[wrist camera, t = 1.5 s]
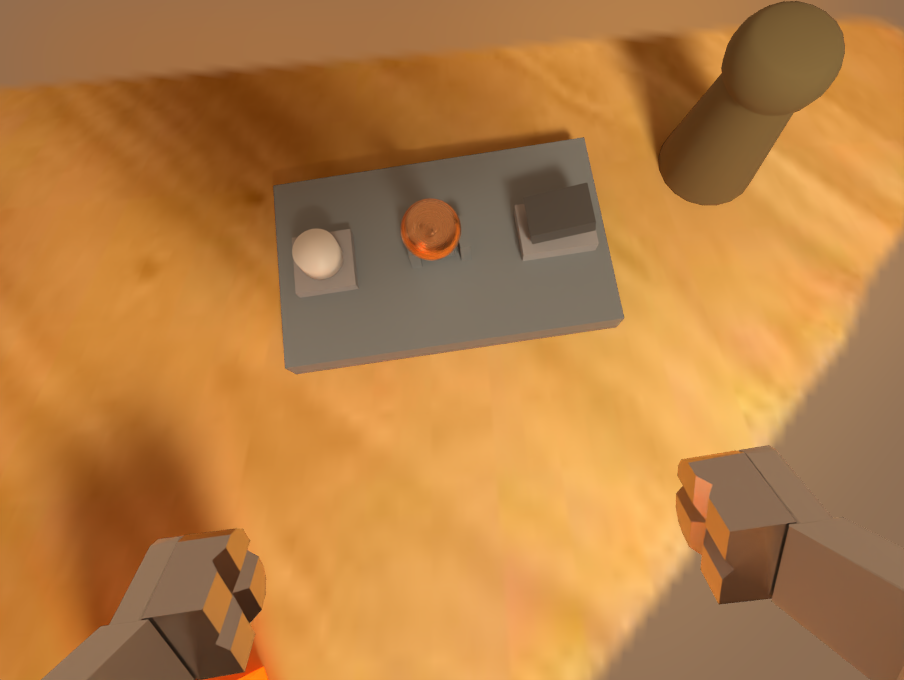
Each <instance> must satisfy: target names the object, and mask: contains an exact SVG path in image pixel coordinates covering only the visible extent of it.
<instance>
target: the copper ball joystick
mask: <svg viewBox="0 0 904 680" xmlns="http://www.w3.org/2000/svg"><path fill="white" fill-rule="evenodd" d="M401 237H402V240H403V243H404V245H405V246H406V248H407V249H408V250H409V251H410V252H411V253H412V254H413V255H415V256H416V257H418V258H420V259H423V260H430V261H433V260H439V259H442V258H444V257H446V256H450V255H456V252H455V248H456V247H457V245H458V243H459V241H460V237H461V222H460V219H459V217H458V215H457V213H456V211H455V210H454V209H453V208H452V207H451V206H450V205H449V204H447V203H446V202H444V201H442V200H439V199H432V198H429V199H423V200H420V201H418V202H416V203H414V204H413V205H411V206H410V207H409V208H408V210H407V211H406V212H405V214H404V216H403V218H402V221H401Z"/></svg>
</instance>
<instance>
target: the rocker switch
mask: <svg viewBox="0 0 904 680" xmlns="http://www.w3.org/2000/svg"><path fill="white" fill-rule="evenodd" d="M523 200H524V206H525V211H526V216H527V222H528V227H529V232H530V237H531V242H532V244H536V243H541V242H545V241H550V240H555V239H559V238H564V237H568V236H573V235H577V234H582V233H586V232H591V231H595V230H596V220H595V215H594V210H593V206H592V201H591V197H590V192H589V188H588V183H582V184H578V185H574V186H570V187H566V188H561V189H557V190H553V191H549V192H544V193H540V194H536V195H532V196H528V197H523Z"/></svg>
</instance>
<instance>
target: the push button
mask: <svg viewBox="0 0 904 680" xmlns="http://www.w3.org/2000/svg"><path fill="white" fill-rule="evenodd" d="M292 256H293V259H294V261H295V263H296V264H297V265H298V266H299V267H300V268H301V270H302V271H303V272H304V273H305V274H306V275H307V276H309V277H311V278H313V279H317V280H323V279H327V278H330V277H332V276H334V275H335V274H336V273H337V272H338V271H339V270H340V268H341V266H342V264H343V252H342V249H341V248H340V246H339V244H338V243H337V241H336V240H335V238H334V237H333V236H332V234H330V233H329V232H328V231H326V230H323V229H310V230H307V231H305V232H303V233H302V234H300V235H299V236H298V237H297V239H296V240H295V242H294V244H293V247H292Z"/></svg>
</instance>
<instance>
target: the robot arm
mask: <svg viewBox="0 0 904 680" xmlns="http://www.w3.org/2000/svg"><path fill="white" fill-rule="evenodd" d="M677 476H678V478H679V479H680V481H681V483H682V485H683V486H682V488H681V489H680V490H679V491H678V492H677V493H676V511H677V516H678V522H679V525H680V527H681V530H682V533H683V535H684V537H685V539H686V541H687V543H688V545H689V547H690V548H692V549H693V550H695V551H696V552H698V553H699V554H701V555H702V559H701V571H702V573H703V575H704V577H705V579H706V581H707V583H708V585H709V587H710V589H711V590H712V592H713V594H714V596H715V598H716V600H717V602H718V604H719V605H720V604H728V603H738V602H747V601H755V600H764V599H772V600H771V602H773V603H774V604H775V605H776V606H778V607H779V608H780V609H781V610H783V611H784V612H785V613H787V614H788V615H789V616H790V617H792V618H793V619H794V620H795V621H797V622H798V623H799V624H800V625H802V626H803V627H804V628H805V629H807V630H808V631H809V632H810V633H812V634H813V635H814V636H816V637H817V638H818V639H819V640H821V641H822V642H823V643H824V644H826V645H827V646H828V647H829V648H831V649H832V650H833V651H834V652H836V653H837V654H838V655H840V656H841V657H842V658H843V659H845V660H846V661H847V662H848V663H850V664H851V665H852V666H853V667H855V668H856V669H857V670H858V671H860V672H861V673H862V674H863V675H865V676H866V677H867V678H868V679H870V680H904V548H903V547H901V546H899V545H897V544H895V543H893V542H891V541H889V540H887V539H885V538H883V537H881V536H879V535H877V534H875V533H873V532H871V531H869V530H867V529H866V528H864V527H861V526H860V525H857V524H856V523H854V522H852V521H850V520H848V519H846V518H844V517H839V518H833V517H832V516H831V515H830V514H829V512H828V511H827V510H826V509H825V508H824V507H823V505H822V504H821V503H820V502H819V500H818V499H817V498H816V497H815V496H814V495H813V494H812V492H811V491H810V490H809V489H808V487H807V486H806V485H805V484H804V483H803V481H802V480H801V479H800V478H799V477H798V475H797V474H796V473H795V472H794V471H793V470H792V469H791V467H790V466H789V465H788V464H787V462H786V461H785V460H784V459H783V458H782V456H781V455H780V454H779V453H778V452H777V450H776V449H775V448H773V447H771V446H769V445H768V446H762V447H755V448H749V449H743V450H739V451H730V452H724V453H717V454H711V455H705V456H699V457H693V458H687V459H681V461H680V463H679V465H678V475H677ZM249 543H250V539H249V538H248V536H247V535H246V533H245V531H244V530H243V529H229V530H221V531H213V532H205V533H197V534H189V535H184V536H177V537H170V538H162V539H158V540H157V541H155V542H154V543H153V544H152V545H151V546H150V547H149V549H148V551H147V553H146V555H145V557H144V559H143V561H142V562H141V564H140V566H139V568H138V570H137V572H136V574H135V576H134V578H133V580H132V582H131V584H130V586H129V587H128V589H127V591H126V593H125V595H124V597H123V599H122V601H121V603H120V605H119V607H118V609H117V611H116V612H115V614H114V616H113V618H112V620H111V622H110V624H109V625H106V626H100V627H99V628H98V629H97V630H96V631H95V632H94V633H93V634H91V635H90V636H89V637H88V638H87V639H86V640H85V641H84V642H83V643H81V644H80V645H79V646H78V647H77V648H76V649H75V650H74V651H73V652H71V653H70V654H69V655H68V656H67V657H66V658H65V659H64V660H63V661H61V662H60V663H59V664H58V665H57V666H56V667H55V668H54V669H53V670H51V671H50V672H49V673H48V674H47V675H46V676H45V677H44V678H43V679H41V680H202V679H208V678H213V677H219V676H225V675H231V674H237V673H242V672H245V669H246V666H247V662H248V658H249V655H250V651H251V648H252V644H253V640H254V637H255V632H254V630H253V628H252V626H251V624H250V622H251V621H252V620H253V619H254V618H255V617H256V616H257V614H258V613H259V612H260V611H261V610H262V607H263V603H264V599H265V595H266V575H265V571H264V566H263V564H262V562H261V560H260V558H259V556H257V555H255V554H253V553H251V552H249V551H248V550H247V549H248V546H249Z"/></svg>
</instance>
